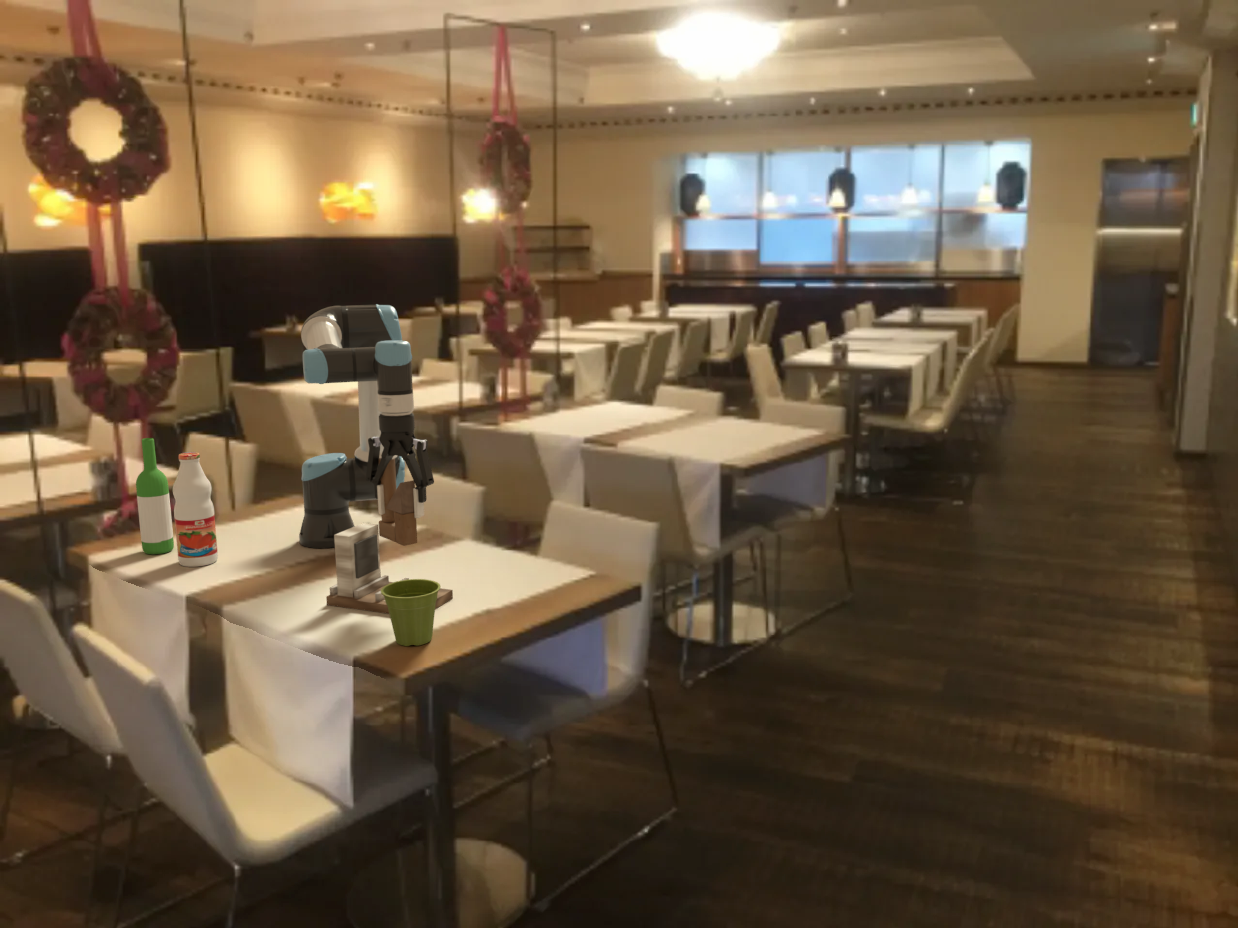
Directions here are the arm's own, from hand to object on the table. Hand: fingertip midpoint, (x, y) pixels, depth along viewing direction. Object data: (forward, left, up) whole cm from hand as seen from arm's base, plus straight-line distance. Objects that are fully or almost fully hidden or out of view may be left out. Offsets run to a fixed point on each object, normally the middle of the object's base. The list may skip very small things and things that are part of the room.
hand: (401, 514), depth 239 cm
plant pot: (+19, +14, -21) cm, 31 cm away
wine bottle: (-13, -84, -21) cm, 88 cm away
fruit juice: (-9, -67, -21) cm, 71 cm away
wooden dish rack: (0, -4, -21) cm, 21 cm away
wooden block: (0, -1, -6) cm, 6 cm away
